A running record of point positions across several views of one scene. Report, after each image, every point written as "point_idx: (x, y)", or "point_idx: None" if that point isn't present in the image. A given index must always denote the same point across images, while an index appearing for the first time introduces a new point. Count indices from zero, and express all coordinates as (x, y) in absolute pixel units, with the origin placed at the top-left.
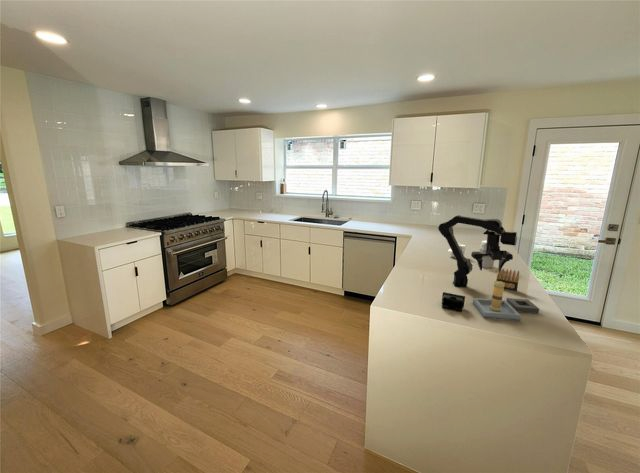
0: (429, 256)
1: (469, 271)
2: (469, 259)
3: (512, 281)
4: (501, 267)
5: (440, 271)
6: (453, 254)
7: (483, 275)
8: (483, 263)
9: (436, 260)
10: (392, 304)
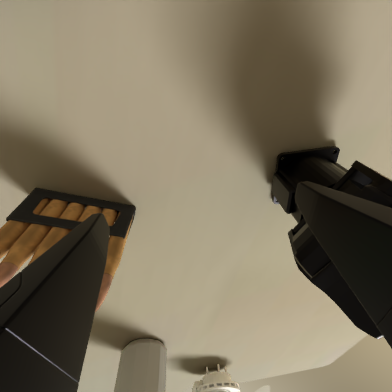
0: (287, 355)
1: (363, 191)
2: (379, 335)
3: (37, 225)
4: (60, 244)
5: (310, 282)
6: (225, 377)
7: (162, 294)
8: (152, 356)
9: (279, 342)
10: None
